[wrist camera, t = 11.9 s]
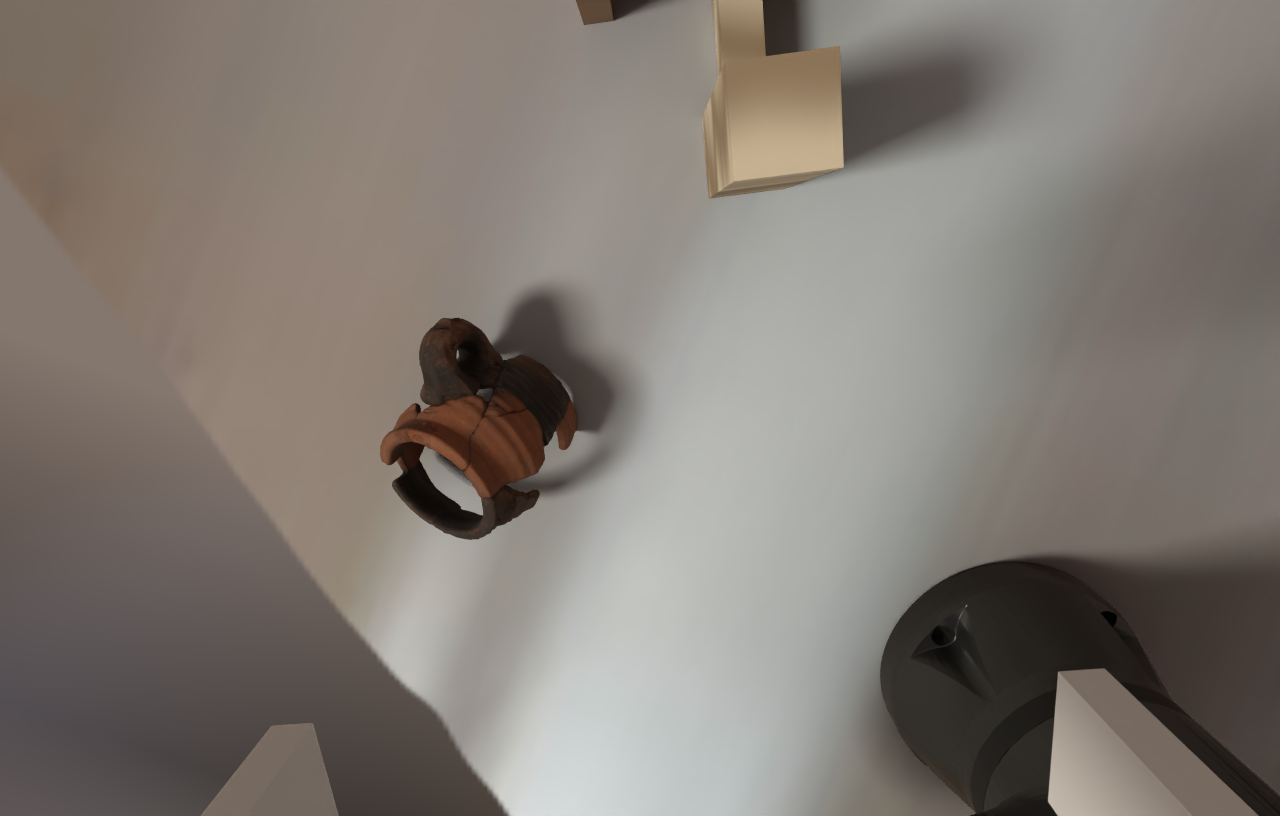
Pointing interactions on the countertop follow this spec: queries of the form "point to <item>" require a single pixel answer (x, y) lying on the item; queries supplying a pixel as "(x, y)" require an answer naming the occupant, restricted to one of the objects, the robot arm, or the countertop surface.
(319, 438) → the countertop surface
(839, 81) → the wooden mallet
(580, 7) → the walnut bench
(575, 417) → the pottery mug
